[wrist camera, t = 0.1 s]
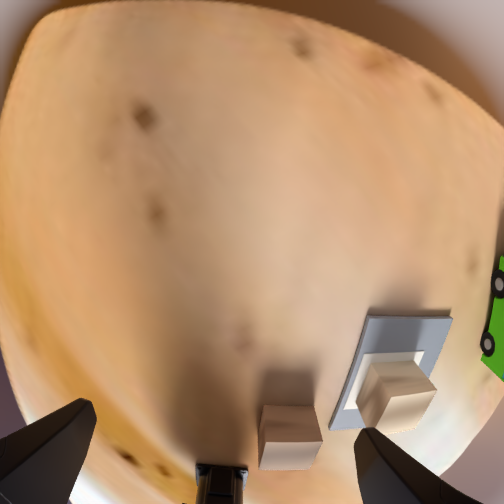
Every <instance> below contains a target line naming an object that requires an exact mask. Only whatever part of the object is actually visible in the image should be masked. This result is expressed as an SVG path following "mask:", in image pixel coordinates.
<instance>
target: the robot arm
mask: <svg viewBox="0 0 504 504" xmlns="http://www.w3.org/2000/svg"><path fill="white" fill-rule="evenodd" d="M96 422H97V417H96V413H95V410H94V407H93V404H92V402H91V401H90V400H87V399H84V398H79V399H77V400H75V401H73V402H71V403H69V404H67V405H66V406H64V407H62V408H60V409H58V410H56V411H54V412H53V413H51V414H49V415H47V416H45V417H43V418H41V419H39V420H37V421H35V422H33V423H31V424H29V425H28V426H26V427H24V428H22V429H20V430H18V431H16V432H14V433H12V434H10V435H8V436H7V437H3V438H1V439H0V504H67V502H68V499H69V497H70V494H71V492H72V489H73V487H74V484H75V482H76V479H77V477H78V474H79V472H80V470H81V467H82V465H83V463H84V460H85V458H86V455H87V452H88V448H89V445H90V442H91V438H92V435H93V432H94V428H95V425H96ZM354 453H355V461H356V469H357V477H358V484H359V488H360V492H361V496H362V500H363V504H483V503H481V502H479V501H477V500H475V499H473V498H471V497H469V496H467V495H465V494H463V493H462V492H460V491H458V490H456V489H455V488H454V487H452V486H451V485H449V484H448V483H446V482H444V481H443V480H441V479H440V478H439V477H438V476H437V475H435V474H434V473H432V472H431V471H430V470H428V469H427V468H426V467H424V466H423V465H422V464H420V463H419V462H418V461H417V460H415V459H414V458H413V457H411V456H410V455H409V454H407V453H406V452H405V451H404V450H402V449H401V448H400V447H399V446H397V445H396V444H395V443H394V442H392V441H391V440H390V439H389V438H387V437H386V436H385V435H384V434H382V433H381V432H380V431H379V430H377V429H376V428H375V427H367V428H363V429H362V430H361V431H360V433H359V435H358V437H357V439H356V441H355V443H354ZM247 476H248V469H245V468H232V467H221V466H212V465H204V464H197V465H196V480H197V486H198V490H197V497H196V504H243V491H244V489H245V485H246V481H247ZM182 504H185V503H182Z"/></svg>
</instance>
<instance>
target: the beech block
mask: <svg viewBox="0 0 504 504" xmlns="http://www.w3.org/2000/svg"><path fill="white" fill-rule="evenodd" d="M436 391H437V389H436V388H435V387H434V385H433V384H432V383H431V381H430V380H429V379H428V378H427V376H426V375H425V374H424V373H423V371H422V370H421V369H420V368H419V366H418V365H417V364H416V363H415V361H414V360H411V361H397V362H379V363H371V364H370V366H369V369H368V372H367V374H366V377H365V380H364V382H363V385H362V387H361V390H360V392H359V394H358V397H357V399H356V402H355V403H356V405H357V407H358V410H359V412H360V414H361V417H362V419H363V421H364V424H365V426H366V428H367V427H375V428H376V429H377V430H379V431H380V432H381V433H382V434H384V435H387V434H393V433H398V432H403V431H408V430H413V429H415V428H416V426H417V425H418V423H419V421H420V420H421V418H422V416H423V415H424V413H425V411H426V410H427V408H428V406H429V404H430V403H431V401H432V399H433V397H434V395H435V393H436Z"/></svg>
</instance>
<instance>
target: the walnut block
mask: <svg viewBox="0 0 504 504" xmlns="http://www.w3.org/2000/svg"><path fill="white" fill-rule="evenodd" d="M322 442H323V440H322V436H321V432H320V428H319V424H318V420H317V416H316V412H315V408H314V406H281V405H264V407H263V412H262V417H261V422H260V427H259V431H258V461H259V470H305V469H310V467H311V465H312V463H313V461H314V459H315V457H316V455H317V453H318V451H319V449H320V447H321V445H322Z"/></svg>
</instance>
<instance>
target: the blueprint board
mask: <svg viewBox="0 0 504 504" xmlns="http://www.w3.org/2000/svg"><path fill="white" fill-rule="evenodd" d="M452 320H453V318H452V317H450V316H371V315H367V318H366V321H365V325H364V328H363V332H362V335H361V338H360V342H359V345H358V348H357V351H356V354H355V357H354V360H353V363H352V366H351V369H350V372H349V375H348V378H347V381H346V383H345V386H344V389H343V392H342V394H341V397H340V399H339V402H338V405H337V407H336V410H335V412H334V415H333V417H332V419H331V422H330V424H329V426H328V428H329V431H332V430H346V429H356V428H365V427H366V426H365V424H364V421H363V419H362V417H361V414H360V412H359V410H358V407H357V405H356V403H355V402H356V399H357V397H358V394H359V392H360V390H361V387H362V385H363V382H364V380H365V377H366V374H367V372H368V369H369V366H370V364H371V363H379V362H397V361H411V360H414V361H415V363H416V364H417V365H418V366H419V368H420V369H421V370H422V371H423V373H424V374H425V375H426V376H427V378H429V376H430V374H431V372H432V370H433V368H434V366H435V363H436V361H437V359H438V356H439V354H440V352H441V349H442V347H443V344H444V342H445V339H446V337H447V334H448V331H449V329H450V326H451V323H452Z"/></svg>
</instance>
